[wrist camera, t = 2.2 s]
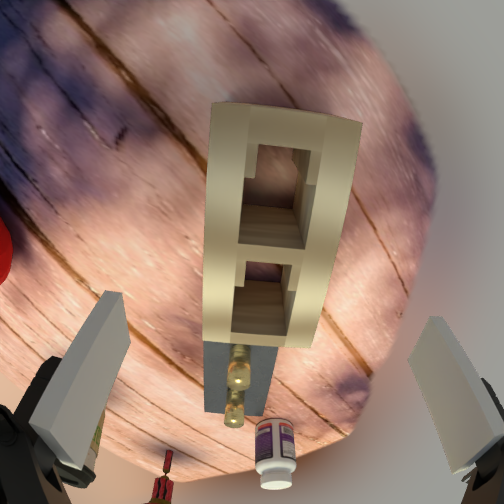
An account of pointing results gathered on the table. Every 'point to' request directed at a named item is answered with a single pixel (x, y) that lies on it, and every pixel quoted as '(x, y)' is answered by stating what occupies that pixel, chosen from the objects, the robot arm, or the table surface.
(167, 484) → the lantern
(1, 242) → the tomato
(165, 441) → the table surface
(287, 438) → the pill bottle
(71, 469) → the coffee cup
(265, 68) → the table surface
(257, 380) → the post rail
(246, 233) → the cinder block
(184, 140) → the table surface
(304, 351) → the table surface
